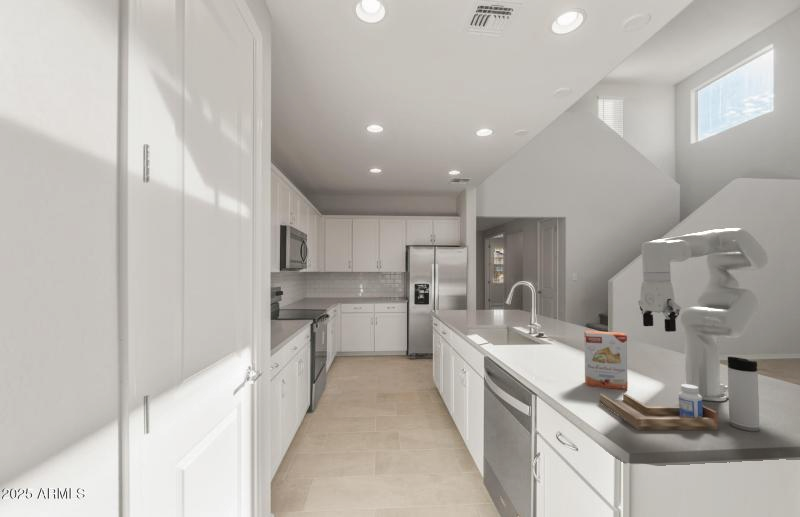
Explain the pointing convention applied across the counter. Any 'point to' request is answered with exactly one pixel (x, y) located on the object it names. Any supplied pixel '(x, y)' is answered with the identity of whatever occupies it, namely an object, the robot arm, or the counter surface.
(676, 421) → the channel track
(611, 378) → the cracker box
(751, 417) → the travel mug
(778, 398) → the counter surface
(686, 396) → the pill bottle
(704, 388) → the robot arm
